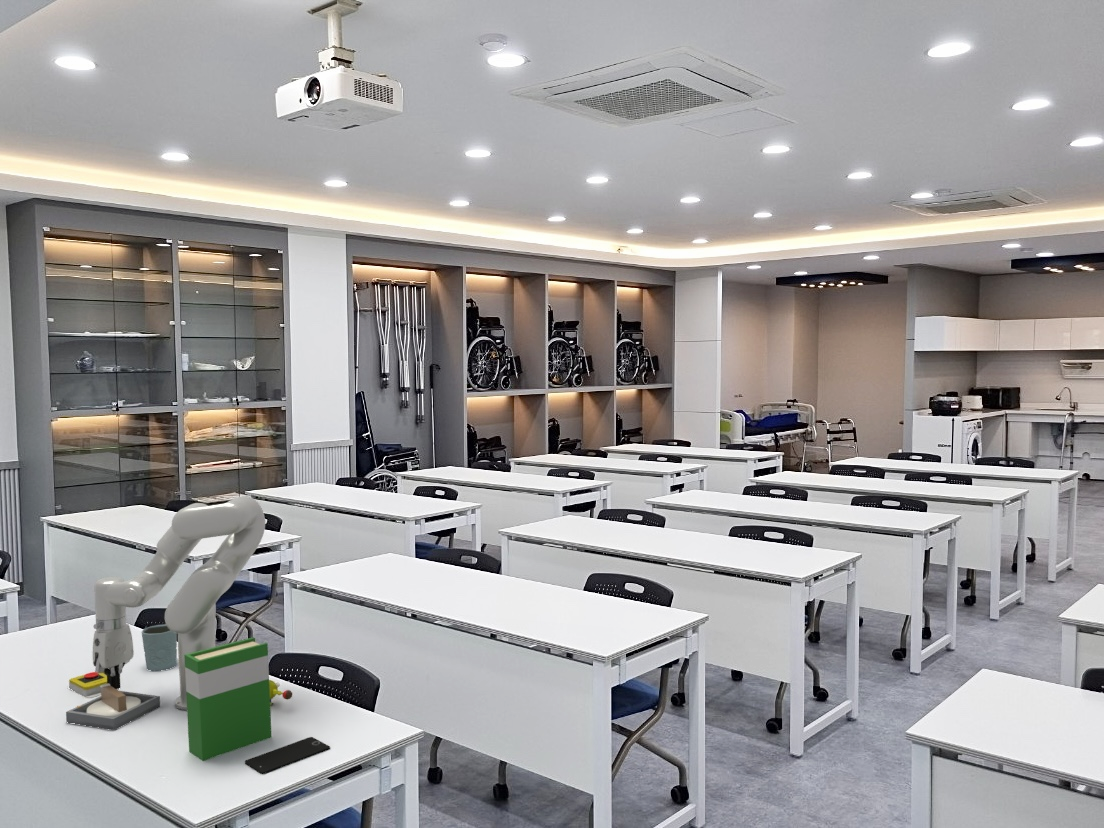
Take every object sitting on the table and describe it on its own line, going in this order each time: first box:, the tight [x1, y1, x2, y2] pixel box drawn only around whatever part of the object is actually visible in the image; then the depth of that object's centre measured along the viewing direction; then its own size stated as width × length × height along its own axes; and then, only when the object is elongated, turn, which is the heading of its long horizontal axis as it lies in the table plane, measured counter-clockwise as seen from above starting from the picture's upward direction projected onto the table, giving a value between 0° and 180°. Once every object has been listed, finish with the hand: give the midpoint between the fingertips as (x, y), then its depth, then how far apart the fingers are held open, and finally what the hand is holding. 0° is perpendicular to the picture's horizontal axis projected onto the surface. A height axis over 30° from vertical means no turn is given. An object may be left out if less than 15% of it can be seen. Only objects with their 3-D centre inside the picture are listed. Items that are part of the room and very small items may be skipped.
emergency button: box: [68, 671, 120, 699], centre depth 261 cm, size 9×4×15 cm
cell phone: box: [244, 736, 331, 775], centre depth 214 cm, size 9×18×1 cm, turn 136°
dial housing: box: [65, 690, 161, 731], centre depth 241 cm, size 16×16×3 cm
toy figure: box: [269, 679, 293, 707], centre depth 245 cm, size 18×6×7 cm, turn 59°
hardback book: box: [184, 636, 272, 762], centre depth 220 cm, size 18×7×24 cm, turn 135°
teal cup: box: [141, 623, 178, 672], centre depth 278 cm, size 10×10×12 cm
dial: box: [87, 683, 141, 717], centre depth 240 cm, size 13×13×6 cm
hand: (113, 688), depth 247 cm, fingers closed
